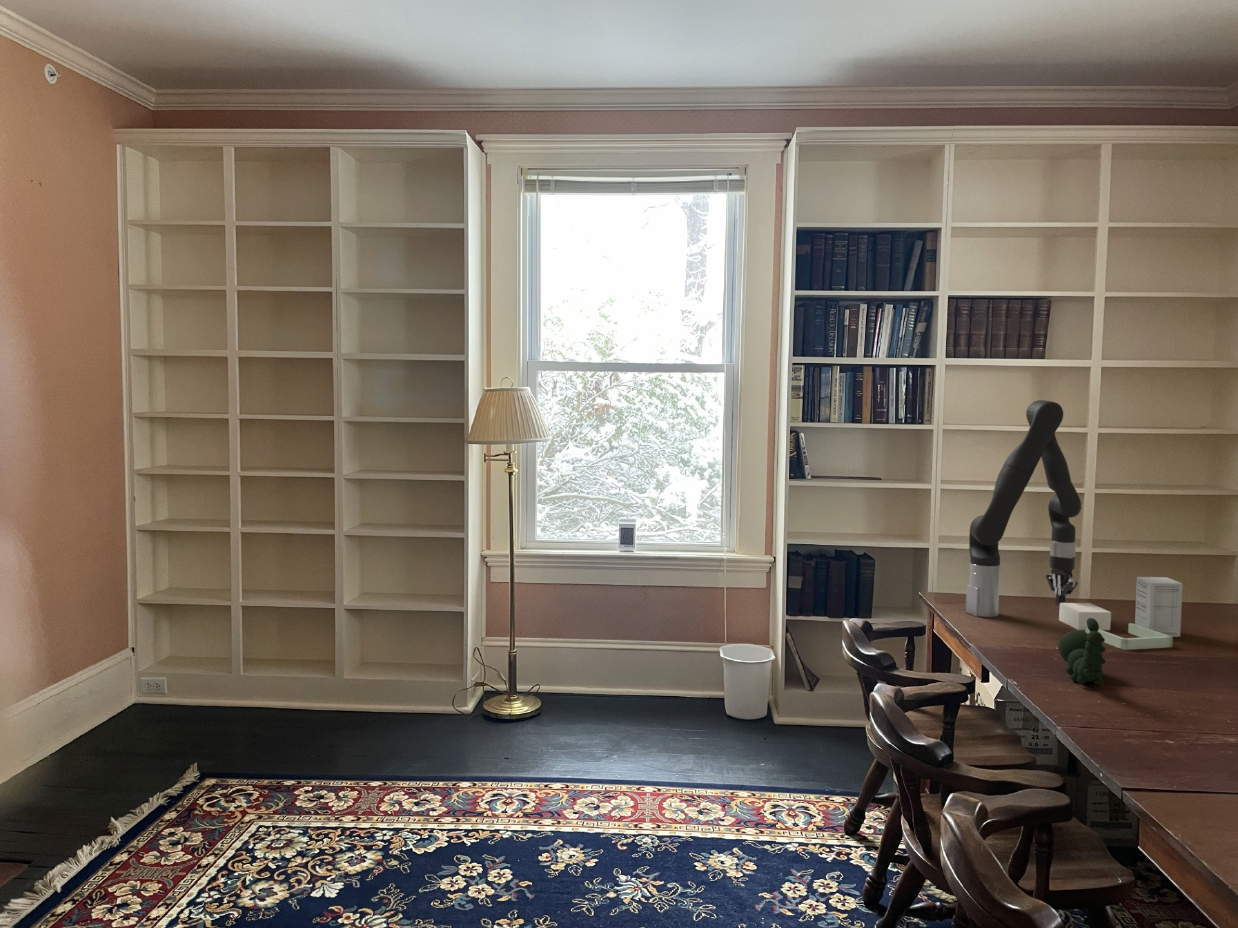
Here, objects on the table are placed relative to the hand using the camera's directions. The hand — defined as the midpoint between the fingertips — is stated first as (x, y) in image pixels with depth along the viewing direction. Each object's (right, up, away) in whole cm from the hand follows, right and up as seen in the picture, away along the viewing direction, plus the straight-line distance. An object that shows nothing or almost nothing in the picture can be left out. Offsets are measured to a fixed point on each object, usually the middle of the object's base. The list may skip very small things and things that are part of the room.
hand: (1060, 605), depth 286 cm
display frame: (+5, -6, -29) cm, 30 cm away
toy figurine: (-27, -9, -63) cm, 69 cm away
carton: (+2, -5, -11) cm, 12 cm away
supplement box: (+20, -5, -20) cm, 29 cm away
